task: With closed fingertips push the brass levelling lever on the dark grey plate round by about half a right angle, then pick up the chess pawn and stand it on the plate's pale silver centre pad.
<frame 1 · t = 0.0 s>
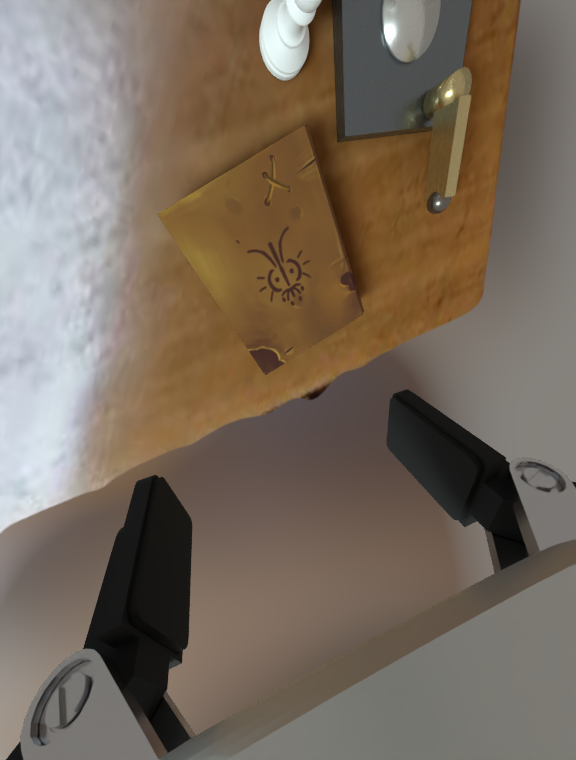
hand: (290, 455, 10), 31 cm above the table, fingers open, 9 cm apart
brass lever: (441, 152, 31), point 5 cm above the table, hinge at 0.0°
levelling plate: (397, 27, 28), on the table
chess pawn: (281, 47, 26), on the table
diary: (272, 269, 36), on the table
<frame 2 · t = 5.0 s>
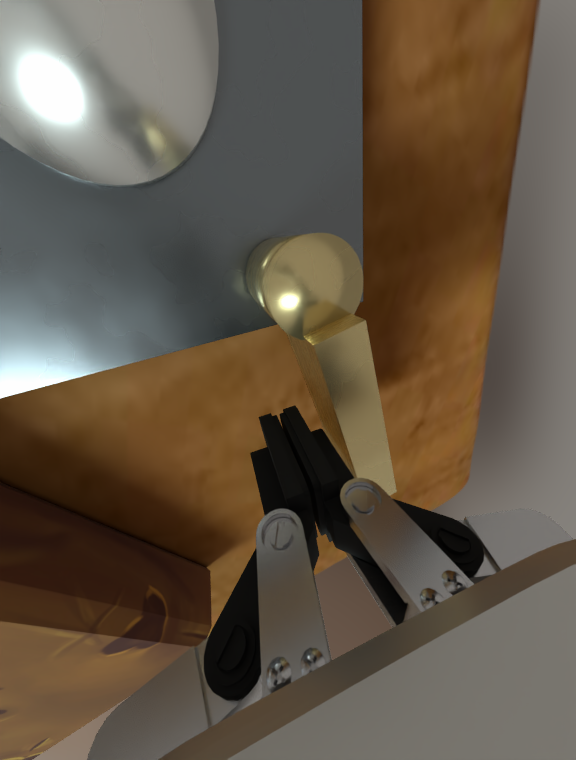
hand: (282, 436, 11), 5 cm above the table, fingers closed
brass lever: (334, 398, 11), point 5 cm above the table, hinge at 10.8°, touching gripper
levelling plate: (97, 58, 8), on the table
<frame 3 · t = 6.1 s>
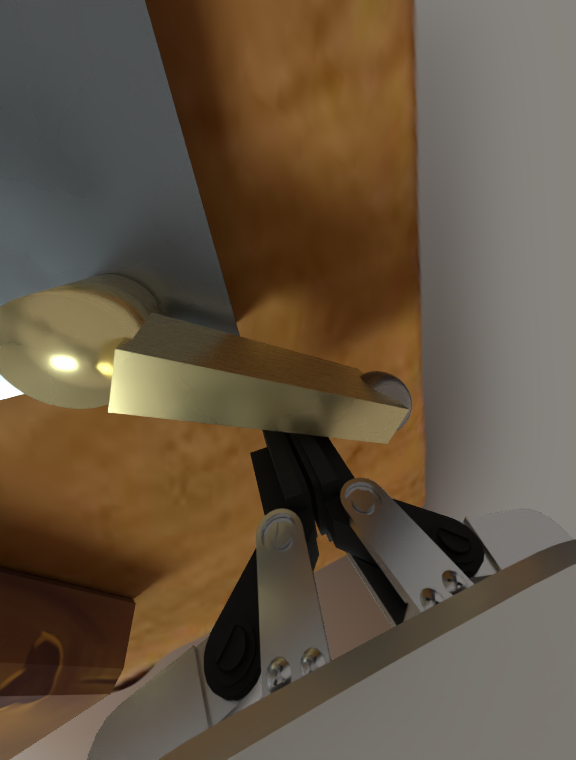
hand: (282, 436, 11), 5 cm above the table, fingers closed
brass lever: (264, 372, 9), point 5 cm above the table, hinge at 58.7°, touching gripper
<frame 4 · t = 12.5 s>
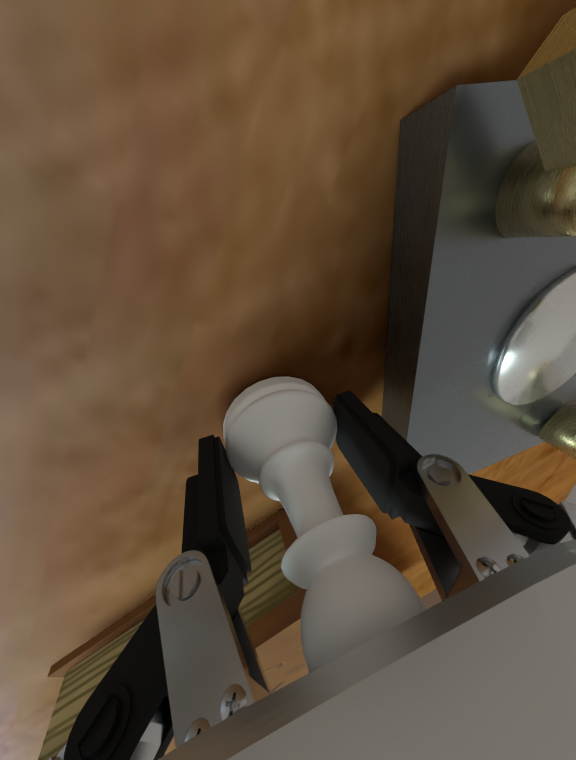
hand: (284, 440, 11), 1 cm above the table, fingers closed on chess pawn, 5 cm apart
levelling plate: (508, 329, 14), on the table
chess pawn: (274, 417, 12), on the table, touching gripper
diary: (263, 604, 22), on the table
when the fingers open (5 cm above the table, at t = 16.7 s): chess pawn drops 1 cm, resting on levelling plate.
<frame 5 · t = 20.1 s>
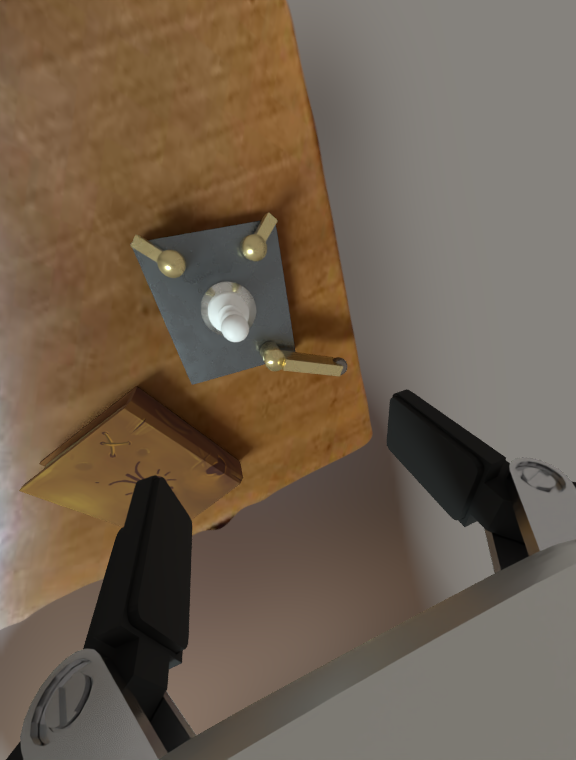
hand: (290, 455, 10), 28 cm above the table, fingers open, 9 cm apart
brass lever: (306, 361, 36), point 5 cm above the table, hinge at 66.1°
levelling plate: (227, 306, 33), on the table
chess pawn: (227, 310, 32), point 2 cm above the table, touching levelling plate
diary: (154, 457, 42), on the table
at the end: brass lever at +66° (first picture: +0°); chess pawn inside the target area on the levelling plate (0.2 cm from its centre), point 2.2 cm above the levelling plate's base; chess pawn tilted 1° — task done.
